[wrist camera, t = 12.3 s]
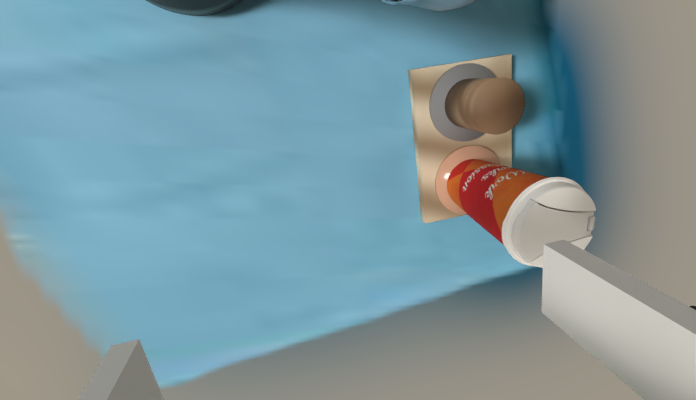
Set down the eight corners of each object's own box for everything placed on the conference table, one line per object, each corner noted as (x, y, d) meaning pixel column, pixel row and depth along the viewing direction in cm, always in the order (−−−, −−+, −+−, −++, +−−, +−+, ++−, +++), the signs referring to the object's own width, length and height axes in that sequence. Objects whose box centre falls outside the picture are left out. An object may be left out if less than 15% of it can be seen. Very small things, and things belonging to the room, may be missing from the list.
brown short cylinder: (443, 82, 37) (472, 82, 32) (488, 75, 38) (525, 73, 32) (446, 131, 39) (474, 139, 33) (489, 123, 40) (524, 129, 34)
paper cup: (502, 145, 41) (610, 175, 28) (498, 210, 43) (595, 265, 30) (436, 153, 40) (515, 188, 26) (436, 219, 42) (508, 281, 29)
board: (408, 70, 38) (412, 69, 37) (504, 54, 39) (511, 53, 38) (421, 219, 44) (425, 223, 42) (505, 201, 45) (511, 204, 44)
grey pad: (426, 69, 37) (428, 69, 37) (498, 58, 38) (501, 57, 38) (432, 146, 40) (433, 147, 39) (499, 134, 41) (502, 134, 40)
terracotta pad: (432, 152, 40) (434, 153, 39) (499, 139, 41) (502, 139, 41) (437, 219, 43) (439, 220, 42) (500, 205, 44) (502, 206, 43)
